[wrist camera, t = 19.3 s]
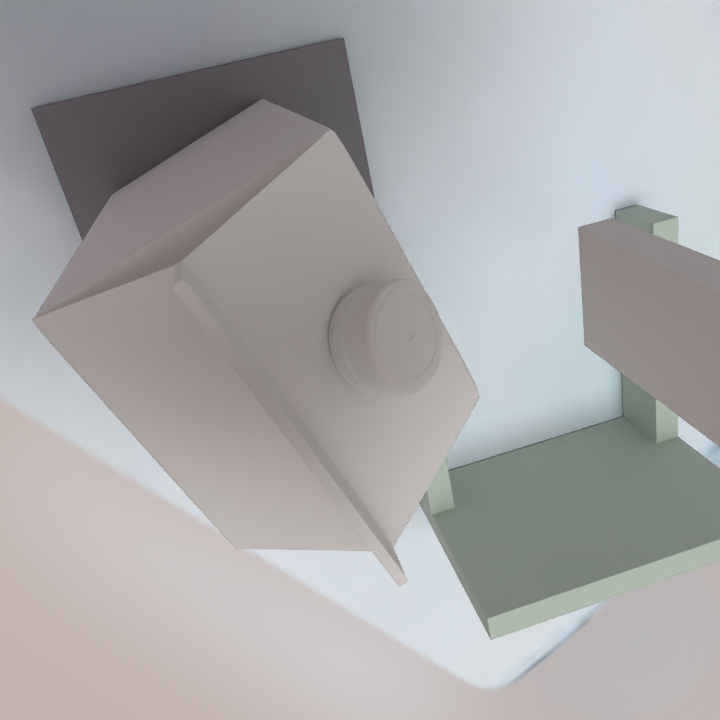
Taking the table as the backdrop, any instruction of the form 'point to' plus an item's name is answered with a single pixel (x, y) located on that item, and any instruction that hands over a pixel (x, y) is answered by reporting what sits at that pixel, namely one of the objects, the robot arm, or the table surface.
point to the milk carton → (267, 339)
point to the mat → (189, 119)
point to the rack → (579, 508)
